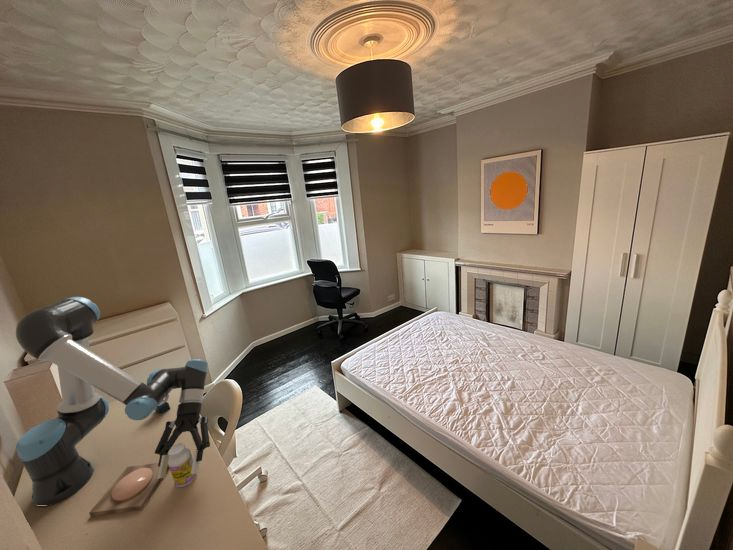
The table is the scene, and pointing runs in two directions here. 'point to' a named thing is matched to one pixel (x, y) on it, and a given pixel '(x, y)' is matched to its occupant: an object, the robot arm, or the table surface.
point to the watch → (163, 406)
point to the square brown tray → (135, 503)
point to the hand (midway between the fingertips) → (177, 475)
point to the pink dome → (132, 484)
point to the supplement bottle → (181, 465)
